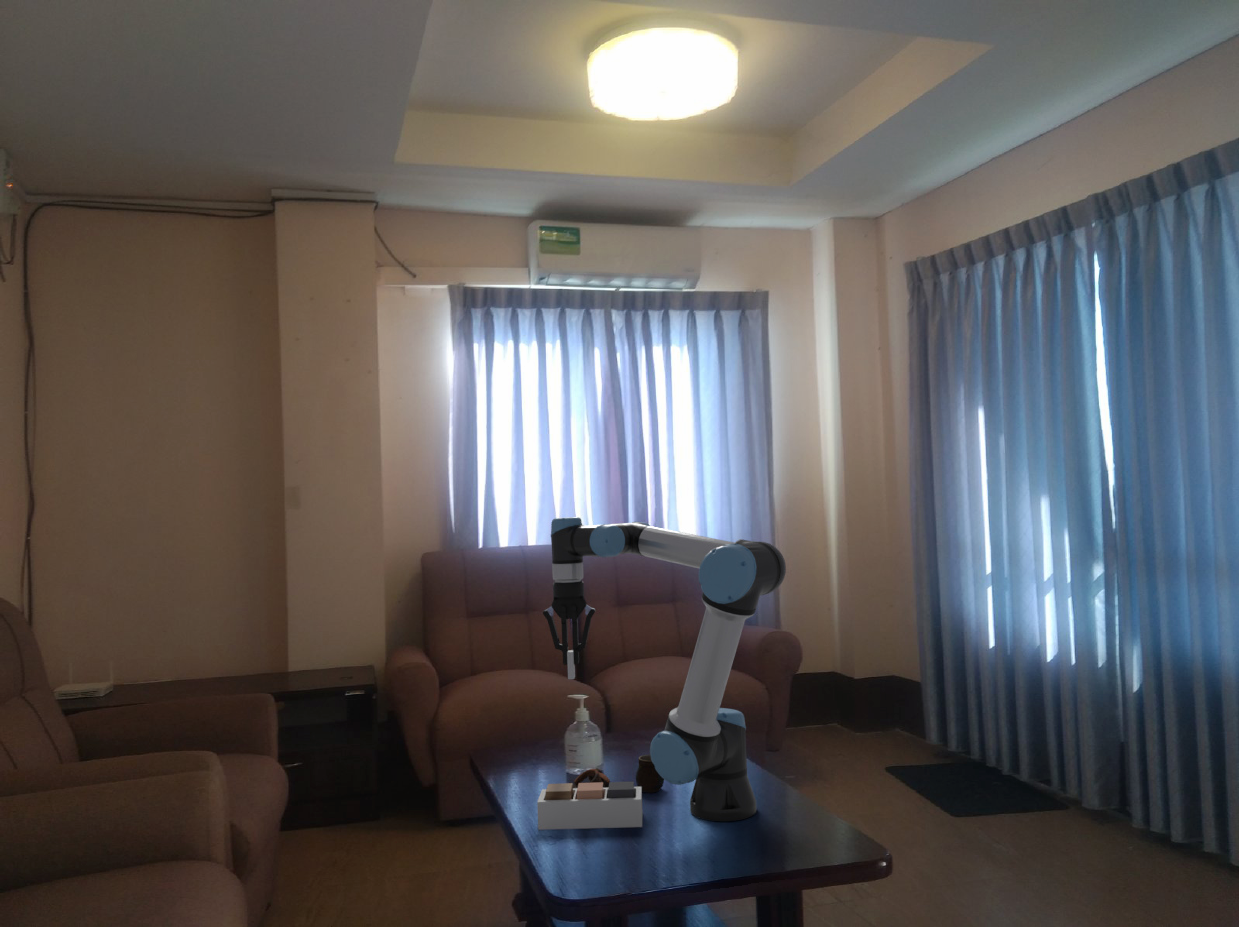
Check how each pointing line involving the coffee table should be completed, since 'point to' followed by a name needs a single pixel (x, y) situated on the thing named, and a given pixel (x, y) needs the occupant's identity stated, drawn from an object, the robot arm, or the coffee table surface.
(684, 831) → the coffee table surface
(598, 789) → the terracotta key
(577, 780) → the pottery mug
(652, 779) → the mate gourd
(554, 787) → the walnut key
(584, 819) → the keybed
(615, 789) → the black rubber key
